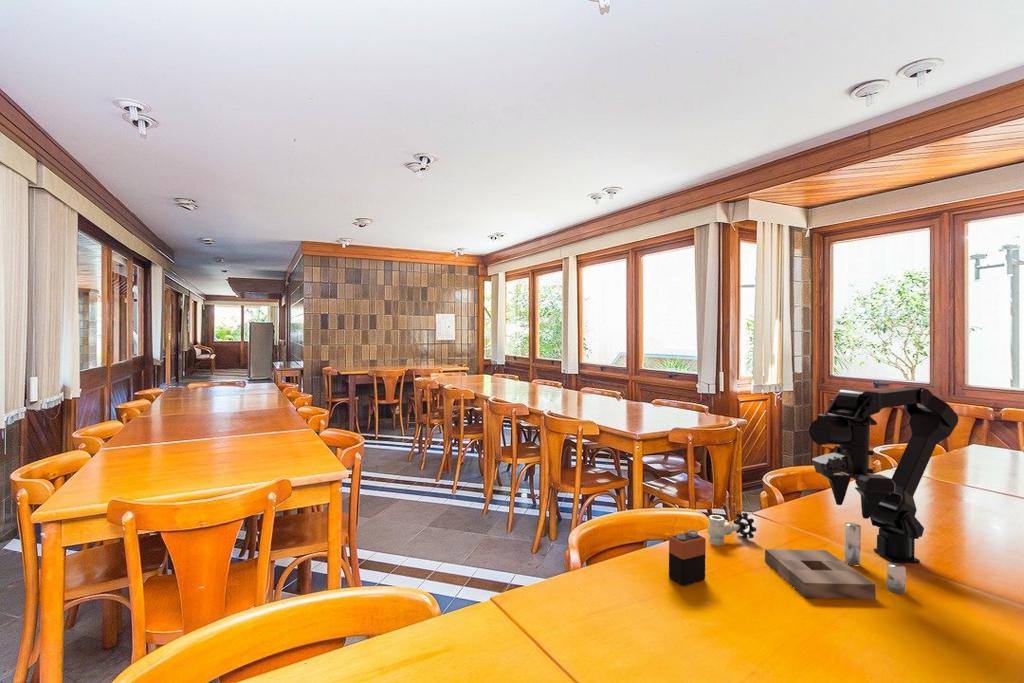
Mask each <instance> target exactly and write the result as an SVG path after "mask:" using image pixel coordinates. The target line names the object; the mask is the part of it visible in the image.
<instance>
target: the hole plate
mask: <svg viewBox="0 0 1024 683" xmlns="http://www.w3.org/2000/svg"><path fill="white" fill-rule="evenodd" d="M764 563H765V564H767V565H768V566H769V567H770V568H771V567H772V568H773V569H774V570H775V571H776V572H775V571H774V570H773V569H772V568H771V569H772V570H773V571H774V572H775V573H776V574H777V575H778V576H780V577H781V578H782V577H783V578H782V579H783V580H784V579H785V580H786V581H787V582H788V585H790V586H791V585H792V586H793V587H794V588H795V589H796V590H795V589H794V588H793V587H792V586H791V587H792V588H793V589H794V590H795V591H796V592H797V593H798V592H799V593H798V594H800V596H802V598H804V599H830V598H850V599H849V600H876V598H877V597H876V592H877V591H876V588H877V587H876V586H877V584H876V583H874V582H873V581H872V580H870V579H869V578H867V577H865V576H864V575H863V574H861V573H860V572H859V571H857V570H856V569H854V568H853V567H852V566H850V565H848V564H846V563H845V562H844V561H843V560H841V559H840V558H839V557H837V556H836V555H834V554H833V553H831V552H829V551H828V550H827V549H787V548H786V549H785V548H782V549H779V548H777V549H776V548H775V549H774V548H765V549H764ZM785 580H784V581H785ZM786 581H785V582H786ZM787 582H786V583H787Z"/></svg>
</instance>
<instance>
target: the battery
mask: <svg viewBox="0 0 1024 683" xmlns="http://www.w3.org/2000/svg"><path fill="white" fill-rule="evenodd" d="M698 533H699V531H697V530H695V529H688V530H687V532H683V533H677V534H674V535H670V536H669V537H668V578H669V579H670V580H673V581H674V582H675V583H677V584H678V585H680V586H682V587H683V586H688V585H691V584H694V583H698V582H701V581H704V580H706V548H707V546H706V543H707V542H706V538H705V537H704V536H702V535H699V534H698Z"/></svg>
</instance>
